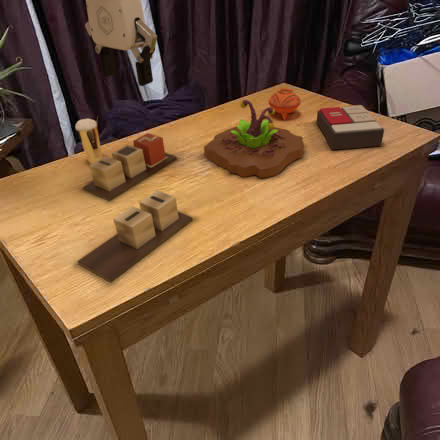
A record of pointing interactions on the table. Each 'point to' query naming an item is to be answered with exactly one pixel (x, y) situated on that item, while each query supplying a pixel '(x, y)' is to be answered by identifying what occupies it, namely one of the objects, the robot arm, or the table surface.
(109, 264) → the front word
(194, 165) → the table surface
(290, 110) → the pot
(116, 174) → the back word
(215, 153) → the plant
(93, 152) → the beer glass
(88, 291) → the table surface
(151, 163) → the letter block
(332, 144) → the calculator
